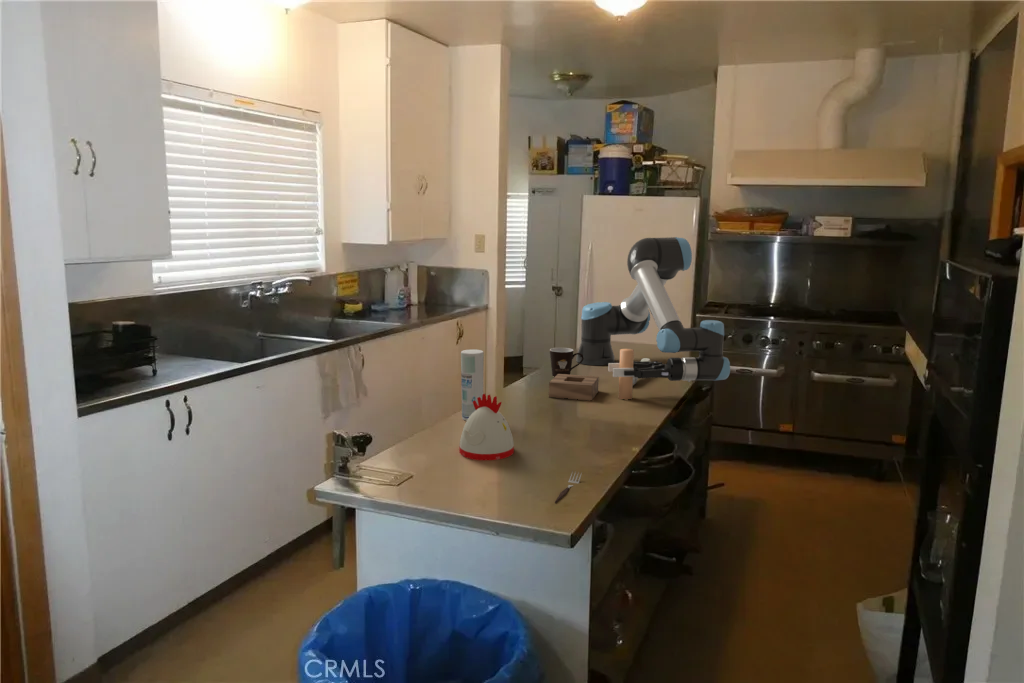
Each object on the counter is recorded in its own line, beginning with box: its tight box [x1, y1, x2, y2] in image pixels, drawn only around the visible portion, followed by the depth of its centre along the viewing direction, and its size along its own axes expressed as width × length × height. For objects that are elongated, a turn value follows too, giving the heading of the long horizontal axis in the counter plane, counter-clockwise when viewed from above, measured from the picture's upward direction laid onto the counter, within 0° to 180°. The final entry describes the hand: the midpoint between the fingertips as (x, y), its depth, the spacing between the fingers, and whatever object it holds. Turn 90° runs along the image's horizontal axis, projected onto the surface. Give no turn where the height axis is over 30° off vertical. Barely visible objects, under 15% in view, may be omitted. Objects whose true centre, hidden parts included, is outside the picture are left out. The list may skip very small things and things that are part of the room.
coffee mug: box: [549, 347, 583, 377], centre depth 272 cm, size 12×9×10 cm
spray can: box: [460, 349, 485, 422], centre depth 218 cm, size 6×6×20 cm
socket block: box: [548, 374, 599, 401], centre depth 248 cm, size 13×14×5 cm
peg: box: [618, 348, 635, 401], centre depth 242 cm, size 4×4×16 cm
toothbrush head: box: [633, 357, 652, 385], centre depth 269 cm, size 5×7×25 cm
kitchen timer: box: [458, 393, 515, 461], centre depth 190 cm, size 14×14×15 cm
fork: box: [554, 470, 583, 504], centre depth 165 cm, size 3×16×2 cm, turn 158°
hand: (610, 369), depth 241 cm, fingers open, 7 cm apart
